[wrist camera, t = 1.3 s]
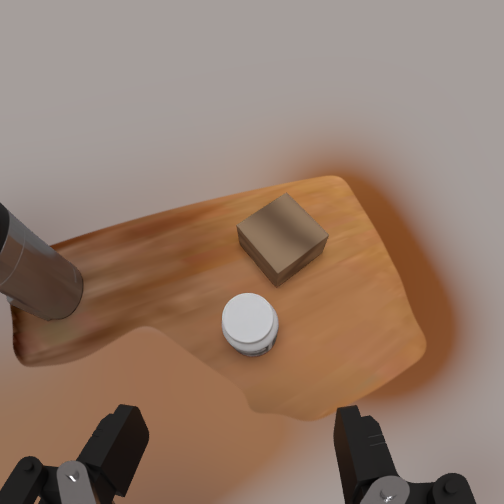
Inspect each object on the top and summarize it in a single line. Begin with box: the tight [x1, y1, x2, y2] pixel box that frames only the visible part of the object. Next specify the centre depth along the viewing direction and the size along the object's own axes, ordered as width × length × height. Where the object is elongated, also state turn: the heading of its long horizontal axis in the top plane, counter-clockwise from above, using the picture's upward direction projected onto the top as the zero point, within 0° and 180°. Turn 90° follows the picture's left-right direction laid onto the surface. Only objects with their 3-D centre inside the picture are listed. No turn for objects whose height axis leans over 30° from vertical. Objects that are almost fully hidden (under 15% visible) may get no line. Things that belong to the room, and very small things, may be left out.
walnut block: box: [236, 193, 329, 288], centre depth 37 cm, size 8×8×5 cm
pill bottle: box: [222, 293, 278, 357], centre depth 30 cm, size 6×6×10 cm
